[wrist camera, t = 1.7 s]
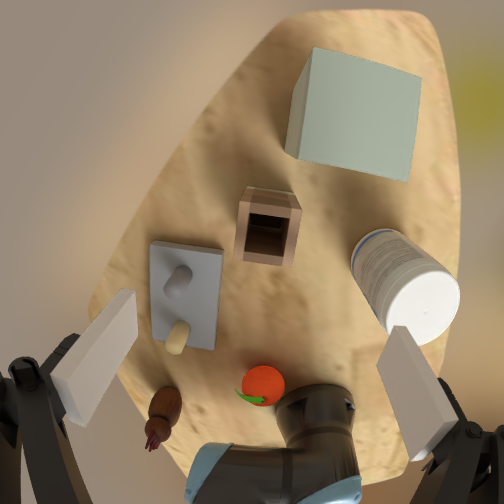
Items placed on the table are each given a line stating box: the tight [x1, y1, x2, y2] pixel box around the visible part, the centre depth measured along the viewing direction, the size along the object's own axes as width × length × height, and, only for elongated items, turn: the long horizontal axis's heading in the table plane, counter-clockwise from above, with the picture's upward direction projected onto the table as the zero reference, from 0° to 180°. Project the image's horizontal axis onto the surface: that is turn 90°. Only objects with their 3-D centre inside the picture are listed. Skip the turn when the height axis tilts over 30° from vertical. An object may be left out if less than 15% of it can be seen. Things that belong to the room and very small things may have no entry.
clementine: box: [235, 365, 285, 406], centre depth 45 cm, size 8×7×7 cm
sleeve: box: [233, 186, 302, 267], centre depth 34 cm, size 6×6×10 cm
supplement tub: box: [351, 228, 460, 346], centre depth 33 cm, size 10×10×15 cm
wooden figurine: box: [145, 387, 182, 452], centre depth 45 cm, size 7×6×15 cm
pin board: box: [150, 240, 224, 355], centre depth 41 cm, size 16×10×7 cm, turn 173°
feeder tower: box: [284, 47, 422, 183], centre depth 26 cm, size 8×8×18 cm
